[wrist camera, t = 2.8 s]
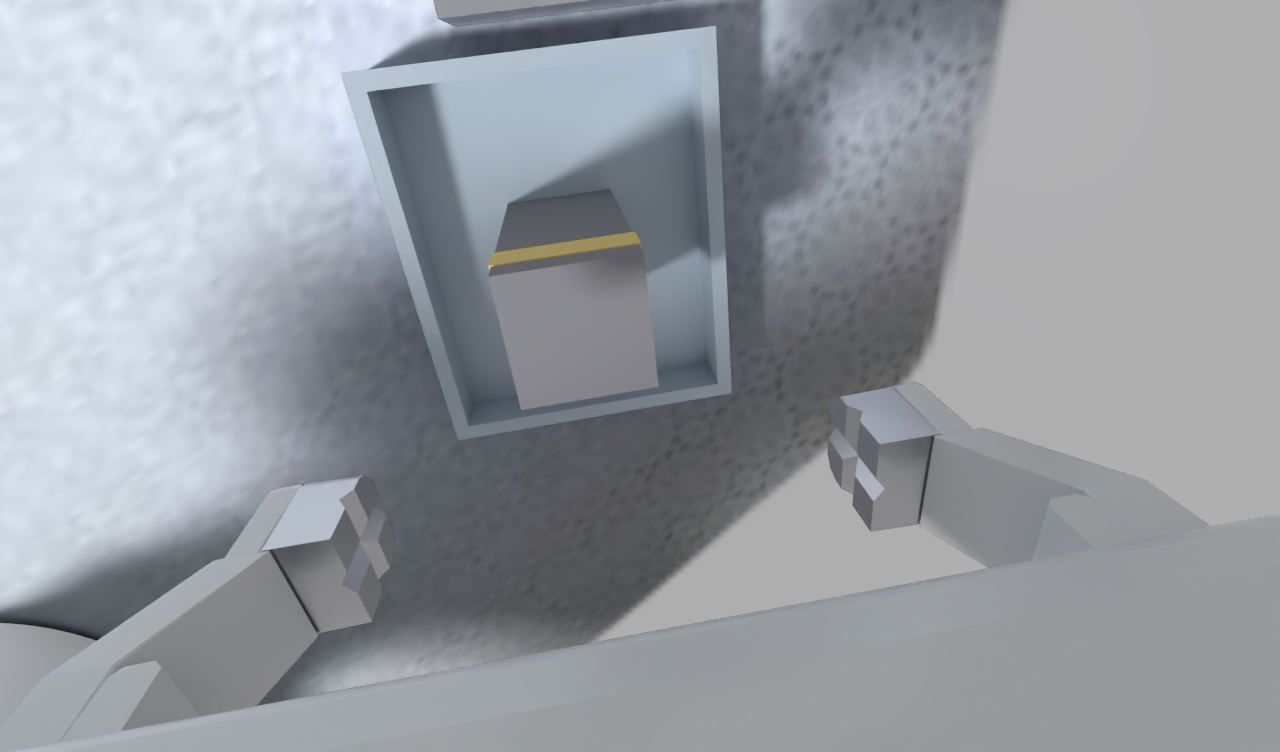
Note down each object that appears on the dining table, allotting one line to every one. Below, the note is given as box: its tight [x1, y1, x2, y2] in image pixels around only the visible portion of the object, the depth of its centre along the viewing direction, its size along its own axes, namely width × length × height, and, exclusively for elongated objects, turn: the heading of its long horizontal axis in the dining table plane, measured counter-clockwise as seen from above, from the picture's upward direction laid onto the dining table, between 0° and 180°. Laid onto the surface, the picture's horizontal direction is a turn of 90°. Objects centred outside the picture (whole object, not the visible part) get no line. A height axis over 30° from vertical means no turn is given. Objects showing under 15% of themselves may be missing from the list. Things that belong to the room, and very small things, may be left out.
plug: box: [488, 189, 659, 410], centre depth 20 cm, size 4×4×9 cm
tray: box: [341, 26, 732, 441], centre depth 23 cm, size 14×12×3 cm
